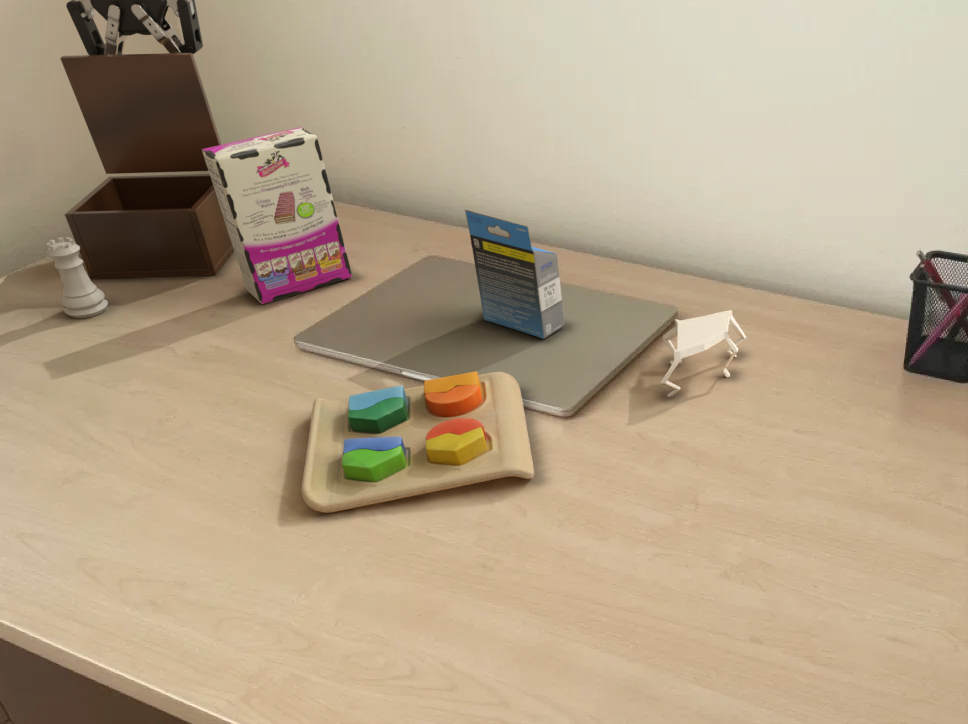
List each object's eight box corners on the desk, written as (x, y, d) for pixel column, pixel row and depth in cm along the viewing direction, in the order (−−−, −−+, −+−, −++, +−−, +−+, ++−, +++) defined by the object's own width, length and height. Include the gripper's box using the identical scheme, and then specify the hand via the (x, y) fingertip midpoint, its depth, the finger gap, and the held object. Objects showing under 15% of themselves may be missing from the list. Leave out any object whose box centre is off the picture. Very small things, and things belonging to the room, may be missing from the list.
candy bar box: (336, 265, 127) (301, 124, 117) (354, 278, 124) (320, 135, 114) (243, 291, 121) (199, 146, 111) (260, 306, 118) (215, 158, 108)
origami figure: (672, 344, 110) (670, 300, 107) (750, 353, 108) (750, 309, 105) (635, 401, 101) (632, 355, 98) (720, 412, 99) (719, 366, 96)
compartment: (215, 275, 125) (195, 210, 120) (90, 279, 125) (64, 214, 120) (247, 234, 135) (229, 173, 130) (131, 237, 135) (108, 176, 130)
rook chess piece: (118, 307, 118) (91, 238, 114) (81, 323, 115) (52, 253, 111) (93, 298, 120) (66, 230, 115) (57, 314, 117) (27, 244, 112)
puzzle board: (319, 411, 100) (310, 379, 98) (520, 387, 103) (515, 355, 101) (304, 518, 87) (294, 483, 85) (536, 486, 90) (531, 452, 88)
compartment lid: (190, 54, 121) (203, 41, 125) (59, 57, 120) (77, 44, 124) (227, 170, 130) (239, 154, 133) (106, 174, 129) (121, 158, 133)
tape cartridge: (567, 326, 114) (555, 214, 106) (543, 341, 111) (529, 227, 103) (505, 307, 117) (489, 197, 110) (481, 320, 115) (463, 209, 107)
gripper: (186, -72, 121) (229, 82, 132) (58, -69, 121) (111, 85, 131) (162, -61, 115) (209, 99, 126) (28, -58, 115) (86, 102, 125)
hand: (159, 91), depth 128 cm, fingers open, 6 cm apart
